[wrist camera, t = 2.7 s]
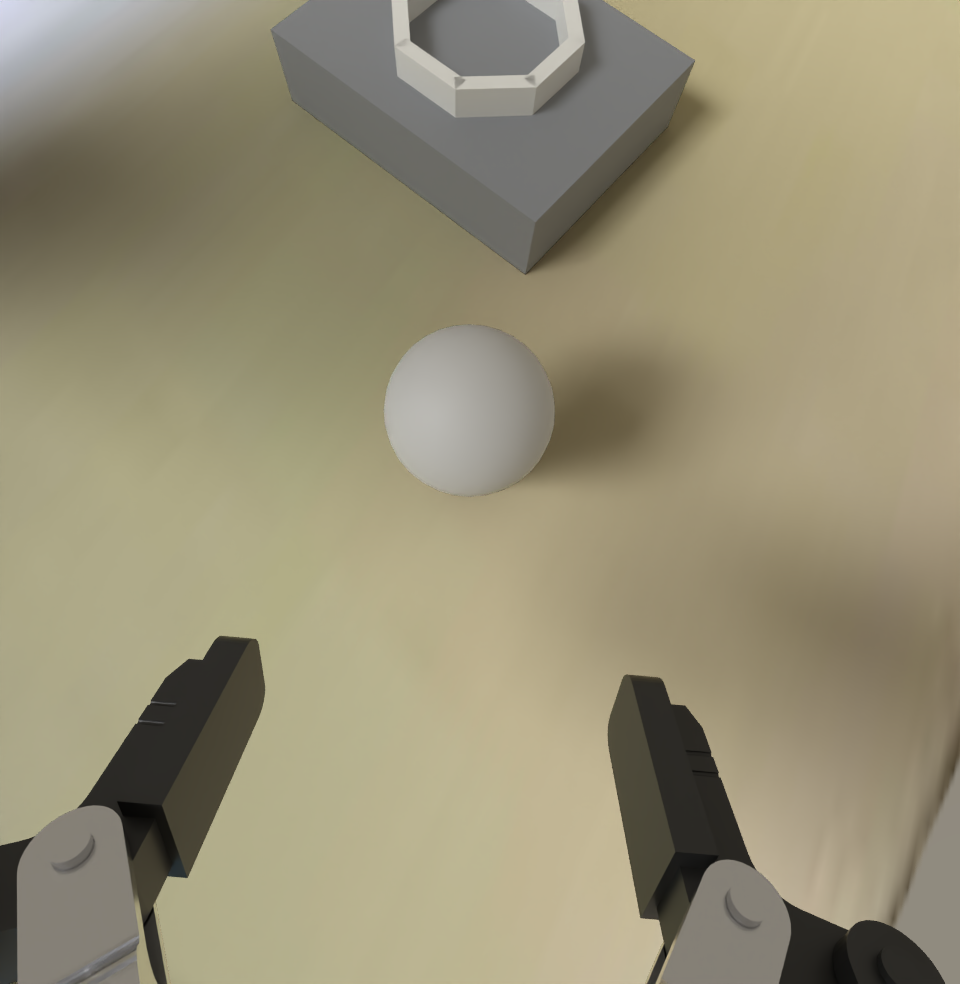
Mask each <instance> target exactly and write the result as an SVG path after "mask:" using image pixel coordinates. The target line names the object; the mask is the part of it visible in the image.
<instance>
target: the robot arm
mask: <svg viewBox="0 0 960 984" xmlns="http://www.w3.org/2000/svg"><path fill="white" fill-rule="evenodd" d="M264 696H265V683H264V676H263V670H262V663H261V657H260V650H259V644H258V641H257V640H256V639H250V638H239V637H228V636H219V637H218V638H217V639H216V640H215V641H214V642H213V644H212V646H211V647H210V649H209V650H208V652H207V654H206V655H205V657H204V659H203V660H195V659H188V660H187V661H186V662H184V663H183V664H182V665H181V666H180V667H178V668H177V669H176V670H175V671H173V672H172V673H171V674H170V675H169V676H167V677H166V678H165V680H164V681H163V683H162V684H161V686H160V687H159V689H158V690H157V692H156V693H155V695H154V697H153V698H152V700H151V704H150V705H148V706H147V707H146V709H145V710H144V712H143V713H142V715H141V716H140V718H139V721H138V723H137V724H135V725H134V727H133V728H132V730H131V731H130V733H129V734H128V736H127V737H126V739H125V740H124V742H123V743H122V745H121V746H120V748H119V749H118V751H117V752H116V754H115V755H114V757H113V759H112V760H111V762H110V763H109V765H108V766H107V768H106V769H105V771H104V772H103V774H102V775H101V777H100V778H99V780H98V781H97V783H96V784H95V786H94V787H93V789H92V790H91V792H90V793H89V795H88V796H87V797H86V799H85V800H84V801H83V803H82V804H81V805H80V806H79V807H78V808H77V809H75V810H72V811H69V812H67V813H65V814H63V815H61V816H60V817H58V818H57V819H55V820H53V821H52V822H51V823H49V824H48V825H47V826H46V827H44V828H43V829H42V830H41V831H40V832H39V833H38V834H37V835H36V836H34V837H32V838H29V839H26V840H22V841H19V842H14V843H10V844H6V845H1V846H0V984H10V983H13V982H17V981H18V984H171V981H170V976H169V970H168V965H167V960H166V954H165V949H164V943H163V938H162V932H161V927H160V921H159V916H158V910H157V905H156V899H157V897H158V895H159V893H160V890H161V888H162V886H163V884H164V882H165V880H166V878H167V876H171V877H183V878H188V876H189V873H190V871H191V869H192V867H193V864H194V862H195V860H196V858H197V855H198V853H199V851H200V849H201V846H202V844H203V842H204V840H205V837H206V835H207V833H208V831H209V828H210V826H211V824H212V822H213V819H214V817H215V815H216V812H217V810H218V808H219V806H220V803H221V801H222V799H223V797H224V794H225V792H226V790H227V788H228V785H229V783H230V781H231V779H232V776H233V774H234V772H235V770H236V767H237V765H238V763H239V761H240V758H241V756H242V754H243V752H244V749H245V747H246V745H247V743H248V740H249V738H250V736H251V734H252V731H253V729H254V727H255V725H256V722H257V720H258V718H259V715H260V713H261V710H262V706H263V702H264ZM608 746H609V752H610V758H611V763H612V768H613V774H614V779H615V784H616V790H617V795H618V800H619V806H620V811H621V816H622V822H623V827H624V832H625V838H626V843H627V848H628V854H629V859H630V864H631V870H632V875H633V880H634V886H635V891H636V897H637V902H638V907H639V913H640V918H645V919H657V920H659V921H660V926H661V931H662V935H663V940H664V942H663V943H662V945H661V947H660V950H659V952H658V954H657V956H656V959H655V961H654V963H653V966H652V968H651V970H650V973H649V975H648V977H647V980H646V982H645V984H945V982H944V980H943V979H942V977H941V975H940V973H939V972H938V970H937V969H936V967H935V966H934V964H933V963H932V961H931V960H930V959H929V958H928V957H927V955H926V954H925V953H924V952H923V951H922V950H921V949H920V948H919V947H918V946H917V945H916V944H915V943H914V942H913V941H912V940H910V939H909V938H908V937H907V936H905V935H904V934H903V933H901V932H900V931H898V930H896V929H895V928H893V927H891V926H889V925H886V924H884V923H881V922H877V921H871V920H865V921H860V922H858V923H856V924H855V925H854V926H853V927H852V928H851V929H850V930H846V929H844V928H842V927H839V926H837V925H835V924H833V923H830V922H828V921H826V920H823V919H821V918H819V917H817V916H814V915H812V914H810V913H807V912H805V911H803V910H801V909H799V908H797V907H795V906H793V905H791V904H790V903H788V902H787V901H785V900H784V899H783V898H781V896H780V895H779V893H778V892H777V890H776V889H775V888H774V887H773V885H772V884H771V883H770V882H769V881H768V880H767V879H766V878H765V877H764V876H763V875H762V874H760V873H759V872H758V871H757V870H756V869H755V867H754V865H753V863H752V862H751V859H750V857H749V855H748V852H747V849H746V847H745V844H744V841H743V838H742V836H741V833H740V830H739V827H738V825H737V822H736V819H735V816H734V814H733V811H732V808H731V805H730V803H729V800H728V797H727V794H726V791H725V789H724V786H723V783H722V780H721V778H719V776H718V773H719V772H718V769H717V767H716V764H715V761H714V758H713V757H711V750H710V747H709V745H708V742H707V739H706V736H705V734H704V731H703V728H702V727H701V725H700V724H699V723H698V722H697V720H696V719H695V718H694V716H693V715H692V714H691V713H690V711H689V710H688V709H687V707H686V706H683V705H672V704H671V703H670V700H669V697H668V694H667V691H666V688H665V685H664V682H663V681H662V679H661V678H658V677H647V676H636V675H625V676H624V677H623V679H622V682H621V685H620V688H619V691H618V694H617V697H616V700H615V703H614V706H613V709H612V712H611V715H610V719H609V724H608Z"/></svg>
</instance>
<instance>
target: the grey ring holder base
mask: <svg viewBox="0 0 960 984" xmlns="http://www.w3.org/2000/svg"><path fill="white" fill-rule="evenodd" d="M271 32H272V35H273V39H274V42H275V45H276V48H277V52H278V55H279V58H280V62H281V65H282V68H283V71H284V75H285V78H286V81H287V84H288V88H289V91H290V94H291V97H292V101H294V102H295V103H296V104H298V105H299V106H300V107H302V108H303V109H304V110H306V111H307V112H308V113H310V114H311V115H312V116H314V117H315V118H316V119H318V120H319V121H321V122H322V123H323V124H325V125H326V126H327V127H329V128H330V129H331V130H333V131H334V132H335V133H337V134H338V135H339V136H341V137H342V138H343V139H345V140H346V141H347V142H349V143H350V144H351V145H353V146H354V147H355V148H357V149H358V150H359V151H361V152H362V153H363V154H365V155H366V156H367V157H369V158H370V159H371V160H373V161H374V162H375V163H377V164H378V165H379V166H381V167H382V168H383V169H385V170H386V171H387V172H389V173H390V174H391V175H393V176H394V177H395V178H397V179H398V180H399V181H401V182H402V183H404V184H405V185H406V186H408V187H409V188H410V189H412V190H413V191H414V192H416V193H417V194H418V195H420V196H421V197H422V198H424V199H425V200H426V201H428V202H429V203H430V204H432V205H433V206H434V207H436V208H437V209H438V210H440V211H441V212H442V213H444V214H445V215H446V216H448V217H449V218H450V219H452V220H453V221H454V222H456V223H457V224H458V225H460V226H461V227H462V228H464V229H465V230H466V231H468V232H469V233H470V234H472V235H473V236H474V237H476V238H477V239H478V240H480V241H481V242H482V243H484V244H485V245H486V246H488V247H489V248H491V249H492V250H493V251H495V252H496V253H497V254H499V255H500V256H501V257H503V258H504V259H505V260H507V261H508V262H509V263H511V264H512V265H513V266H515V267H516V268H517V269H519V270H520V271H521V272H523V273H524V274H526V273H527V272H528V271H529V270H530V269H531V268H532V267H533V266H534V265H535V264H536V263H537V262H538V261H539V260H540V259H541V258H542V256H543V255H544V254H545V253H546V252H547V251H548V250H549V249H550V248H551V247H552V246H553V245H554V244H555V243H556V242H557V241H558V240H559V239H560V238H561V237H562V236H563V235H564V234H565V233H566V232H567V231H568V229H569V228H570V227H571V226H572V225H573V224H574V223H575V222H576V221H577V220H578V219H579V218H580V217H581V216H582V215H583V214H584V213H585V212H586V211H587V210H588V209H589V208H590V207H591V206H592V205H593V204H594V202H595V201H596V200H597V199H598V198H599V197H600V196H601V195H602V194H603V193H604V192H605V191H606V190H607V189H608V188H609V187H610V186H611V185H612V184H613V183H614V182H615V181H616V180H617V179H618V178H619V177H620V176H621V174H622V173H623V172H624V171H625V170H626V169H627V168H628V167H629V166H630V165H631V164H632V163H633V162H634V161H635V160H636V159H637V158H638V157H639V156H640V155H641V154H642V153H643V152H644V151H645V150H646V149H647V147H648V146H649V145H650V144H651V143H652V142H653V141H654V140H655V139H656V138H657V137H658V136H659V135H660V134H661V133H662V132H663V131H664V130H665V129H666V128H667V127H668V125H669V122H670V120H671V117H672V115H673V113H674V110H675V108H676V105H677V103H678V101H679V98H680V96H681V93H682V91H683V89H684V86H685V84H686V82H687V79H688V77H689V74H690V72H691V70H692V67H693V65H694V62H695V60H694V59H692V58H691V57H689V56H687V55H686V54H684V53H683V52H681V51H680V50H678V49H677V48H675V47H674V46H672V45H671V44H669V43H667V42H666V41H664V40H663V39H661V38H660V37H658V36H657V35H655V34H654V33H652V32H650V31H649V30H647V29H646V28H644V27H643V26H641V25H640V24H638V23H637V22H635V21H634V20H632V19H630V18H629V17H627V16H626V15H624V14H623V13H621V12H620V11H618V10H617V9H615V8H613V7H612V6H610V5H609V4H607V3H606V2H604V1H603V0H309V1H307V2H306V3H305V4H303V5H302V6H301V7H300V8H298V9H297V10H296V11H294V12H293V13H292V14H290V15H289V16H288V17H286V18H285V19H284V20H282V21H281V22H280V23H278V24H277V25H276V26H274V27H273V28H272V29H271Z"/></svg>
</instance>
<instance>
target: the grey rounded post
mask: <svg viewBox="0 0 960 984" xmlns="http://www.w3.org/2000/svg"><path fill="white" fill-rule="evenodd" d="M554 417H555V403H554V397H553V391H552V387H551V384H550V381H549V379H548V376H547V374H546V372H545V370H544V368H543V366H542V365H541V363H540V362H539V360H538V358H537V357H536V356H535V355H534V354H533V352H532V351H531V350H530V349H529V348H528V347H527V346H526V345H525V344H523V343H522V342H520V341H519V340H518V339H516V338H515V337H514V336H511V335H509V334H507V333H505V332H503V331H501V330H498V329H495V328H491V327H487V326H482V325H471V324H468V325H456V326H451V327H447V328H443V329H440V330H437V331H435V332H433V333H431V334H429V335H427V336H425V337H424V338H422V339H421V340H420V341H418V342H417V343H415V344H414V345H413V346H412V347H411V348H410V349H409V350H408V351H407V352H406V353H405V355H404V356H403V357H402V358H401V360H400V362H399V363H398V365H397V366H396V368H395V370H394V371H393V373H392V375H391V378H390V381H389V384H388V387H387V391H386V397H385V405H384V418H385V427H386V430H387V433H388V437H389V440H390V443H391V446H392V448H393V450H394V451H395V453H396V455H397V457H398V459H399V460H400V462H401V463H402V464H403V465H404V466H405V467H406V469H407V470H408V471H409V472H410V473H411V474H412V475H414V476H415V477H416V478H418V479H419V480H420V481H421V482H423V483H425V484H427V485H429V486H431V487H432V488H434V489H436V490H438V491H441V492H444V493H448V494H452V495H456V496H467V497H473V496H482V495H488V494H491V493H494V492H498V491H501V490H504V489H506V488H508V487H509V486H511V485H513V484H515V483H517V482H519V481H520V480H521V479H522V478H523V477H525V476H526V475H527V474H528V473H529V472H531V470H532V469H533V468H534V467H535V465H536V464H537V463H538V462H539V460H540V459H541V457H542V455H543V453H544V451H545V449H546V447H547V445H548V443H549V441H550V439H551V435H552V431H553V427H554Z"/></svg>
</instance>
